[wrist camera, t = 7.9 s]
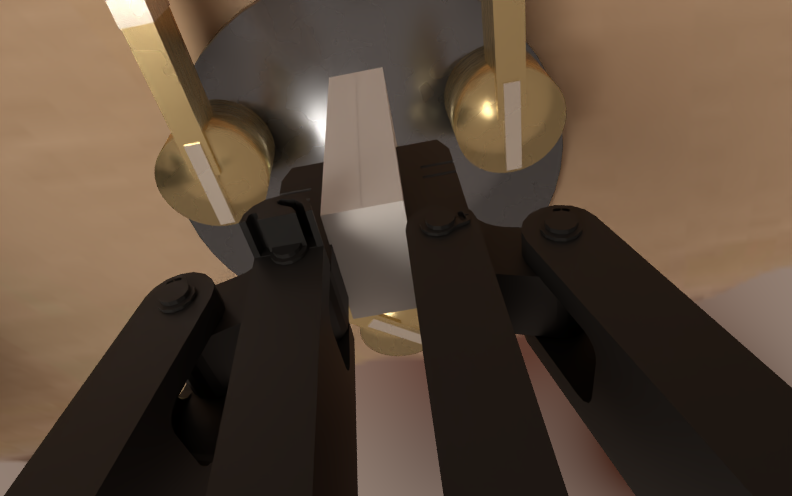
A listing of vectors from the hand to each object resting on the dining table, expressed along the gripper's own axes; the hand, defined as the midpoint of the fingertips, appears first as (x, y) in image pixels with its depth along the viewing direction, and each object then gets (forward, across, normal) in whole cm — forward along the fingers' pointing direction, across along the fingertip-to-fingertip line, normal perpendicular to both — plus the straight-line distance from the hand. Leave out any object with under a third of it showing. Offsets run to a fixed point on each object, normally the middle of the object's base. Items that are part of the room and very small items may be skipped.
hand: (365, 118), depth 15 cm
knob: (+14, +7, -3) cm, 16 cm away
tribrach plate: (+15, -1, -11) cm, 19 cm away
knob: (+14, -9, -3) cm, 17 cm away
